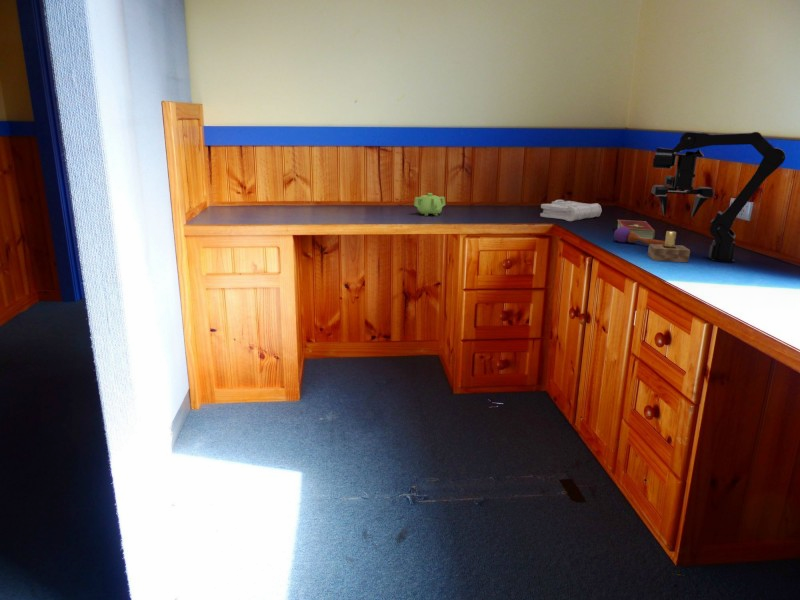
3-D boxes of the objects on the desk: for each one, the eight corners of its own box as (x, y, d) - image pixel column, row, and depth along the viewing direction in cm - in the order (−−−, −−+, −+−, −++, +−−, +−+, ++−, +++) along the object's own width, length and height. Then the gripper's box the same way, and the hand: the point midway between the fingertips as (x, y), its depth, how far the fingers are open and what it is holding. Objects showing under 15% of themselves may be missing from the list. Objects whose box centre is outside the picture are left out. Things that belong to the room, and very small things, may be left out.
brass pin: (671, 254, 208) (674, 231, 206) (674, 256, 205) (677, 232, 203) (662, 254, 209) (665, 230, 206) (664, 256, 206) (667, 232, 203)
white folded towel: (607, 217, 292) (608, 200, 290) (573, 222, 275) (575, 205, 272) (572, 212, 306) (573, 196, 304) (537, 217, 288) (538, 201, 286)
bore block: (681, 257, 210) (683, 245, 209) (688, 262, 203) (690, 250, 202) (647, 255, 212) (649, 243, 211) (653, 260, 204) (655, 248, 203)
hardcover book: (645, 230, 260) (647, 220, 259) (654, 240, 241) (655, 229, 240) (616, 228, 263) (617, 219, 262) (621, 238, 243) (623, 227, 242)
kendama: (663, 240, 218) (612, 227, 232) (660, 256, 221) (610, 242, 234) (671, 235, 221) (620, 223, 235) (669, 251, 224) (618, 237, 238)
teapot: (445, 214, 286) (446, 192, 283) (436, 217, 276) (437, 195, 273) (422, 212, 291) (423, 191, 288) (412, 215, 281) (413, 193, 278)
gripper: (707, 169, 213) (699, 214, 218) (650, 167, 216) (644, 211, 220) (718, 172, 203) (709, 219, 207) (658, 169, 205) (652, 216, 210)
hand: (678, 216), depth 212 cm, fingers open, 9 cm apart
